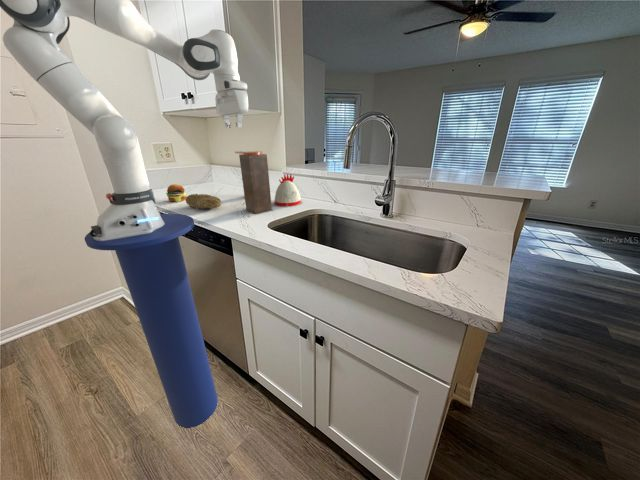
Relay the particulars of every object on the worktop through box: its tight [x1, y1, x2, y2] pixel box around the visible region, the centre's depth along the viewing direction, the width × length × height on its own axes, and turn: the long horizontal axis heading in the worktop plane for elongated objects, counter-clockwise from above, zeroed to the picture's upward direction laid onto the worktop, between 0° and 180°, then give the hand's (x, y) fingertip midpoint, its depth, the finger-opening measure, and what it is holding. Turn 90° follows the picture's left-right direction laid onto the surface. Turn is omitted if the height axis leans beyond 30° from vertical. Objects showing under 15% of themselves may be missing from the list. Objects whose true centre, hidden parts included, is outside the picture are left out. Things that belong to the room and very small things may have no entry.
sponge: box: [185, 193, 222, 210], centre depth 132 cm, size 13×8×20 cm
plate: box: [234, 150, 263, 155], centre depth 120 cm, size 8×19×1 cm, turn 42°
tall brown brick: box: [238, 153, 273, 215], centre depth 122 cm, size 9×9×26 cm
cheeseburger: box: [165, 184, 188, 203], centre depth 148 cm, size 10×11×10 cm
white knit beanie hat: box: [274, 173, 302, 207], centre depth 137 cm, size 14×14×15 cm
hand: (233, 127), depth 100 cm, fingers open, 8 cm apart
